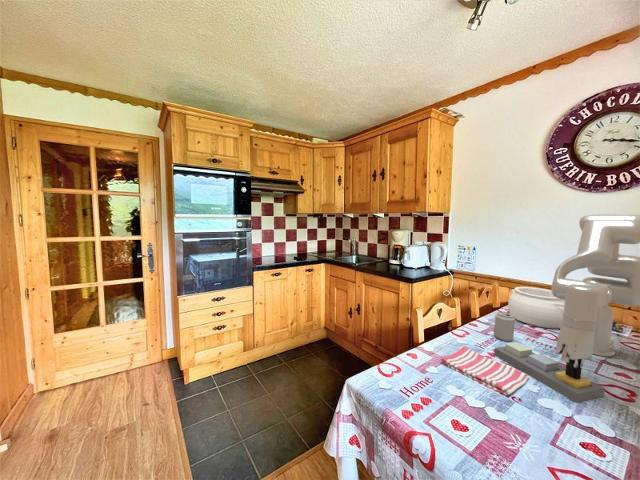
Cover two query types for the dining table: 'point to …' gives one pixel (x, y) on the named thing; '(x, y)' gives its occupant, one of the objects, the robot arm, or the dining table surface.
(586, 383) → the mustard button
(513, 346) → the sage button
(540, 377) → the button board
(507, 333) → the can
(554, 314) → the pot
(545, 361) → the blue button
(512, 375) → the dish towel
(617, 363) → the dining table surface
